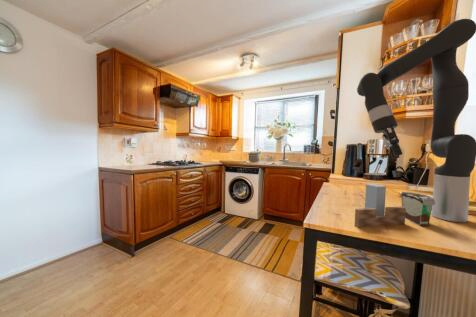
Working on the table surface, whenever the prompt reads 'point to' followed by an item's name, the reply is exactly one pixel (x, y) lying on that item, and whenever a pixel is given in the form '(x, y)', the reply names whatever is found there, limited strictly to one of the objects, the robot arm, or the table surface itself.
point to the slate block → (375, 198)
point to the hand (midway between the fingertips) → (397, 156)
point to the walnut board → (379, 217)
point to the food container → (417, 207)
